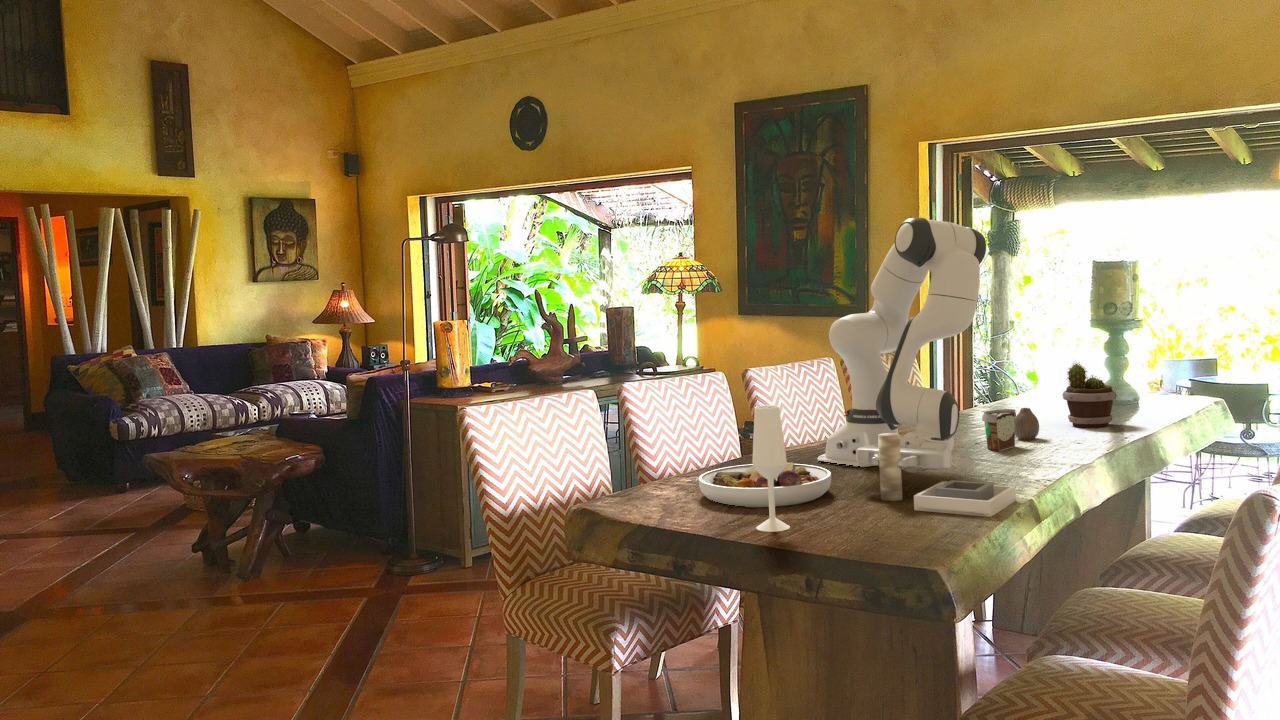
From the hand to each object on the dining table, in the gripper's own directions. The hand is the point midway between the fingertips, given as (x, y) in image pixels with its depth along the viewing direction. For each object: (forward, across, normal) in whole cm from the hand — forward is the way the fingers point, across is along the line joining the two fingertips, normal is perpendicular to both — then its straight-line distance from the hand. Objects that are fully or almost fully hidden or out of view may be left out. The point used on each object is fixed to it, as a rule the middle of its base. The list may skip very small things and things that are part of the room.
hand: (888, 462), depth 214 cm
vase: (-87, +3, +8) cm, 87 cm away
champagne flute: (+31, -11, +8) cm, 34 cm away
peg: (-1, 0, +8) cm, 8 cm away
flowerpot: (-116, +13, +8) cm, 117 cm away
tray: (-1, +16, +8) cm, 18 cm away
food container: (-70, 0, +8) cm, 70 cm away
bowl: (+5, -28, +9) cm, 30 cm away
